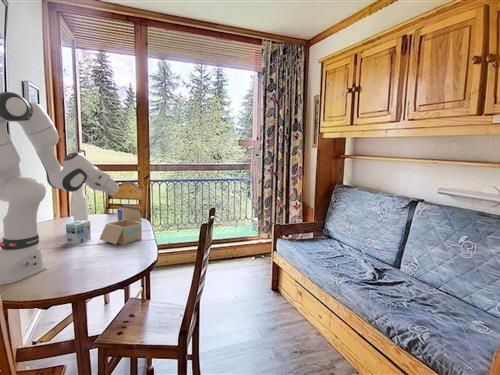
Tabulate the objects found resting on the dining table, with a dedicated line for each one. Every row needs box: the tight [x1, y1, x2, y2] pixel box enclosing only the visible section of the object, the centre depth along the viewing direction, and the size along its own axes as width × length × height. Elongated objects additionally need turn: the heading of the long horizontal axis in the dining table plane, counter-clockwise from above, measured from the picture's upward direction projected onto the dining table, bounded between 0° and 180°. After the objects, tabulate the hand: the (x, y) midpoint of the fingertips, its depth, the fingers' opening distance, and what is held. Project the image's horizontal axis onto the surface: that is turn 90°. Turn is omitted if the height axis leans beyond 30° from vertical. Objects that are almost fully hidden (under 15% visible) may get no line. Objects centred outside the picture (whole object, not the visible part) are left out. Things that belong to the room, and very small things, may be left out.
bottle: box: [72, 184, 89, 222], centre depth 183 cm, size 8×8×30 cm
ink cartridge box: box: [116, 203, 136, 222], centre depth 198 cm, size 10×6×14 cm, turn 147°
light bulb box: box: [65, 220, 92, 246], centre depth 166 cm, size 11×7×11 cm, turn 168°
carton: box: [99, 220, 143, 245], centre depth 170 cm, size 17×14×9 cm
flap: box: [122, 204, 142, 223], centre depth 175 cm, size 9×13×1 cm
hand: (112, 194), depth 163 cm, fingers closed
